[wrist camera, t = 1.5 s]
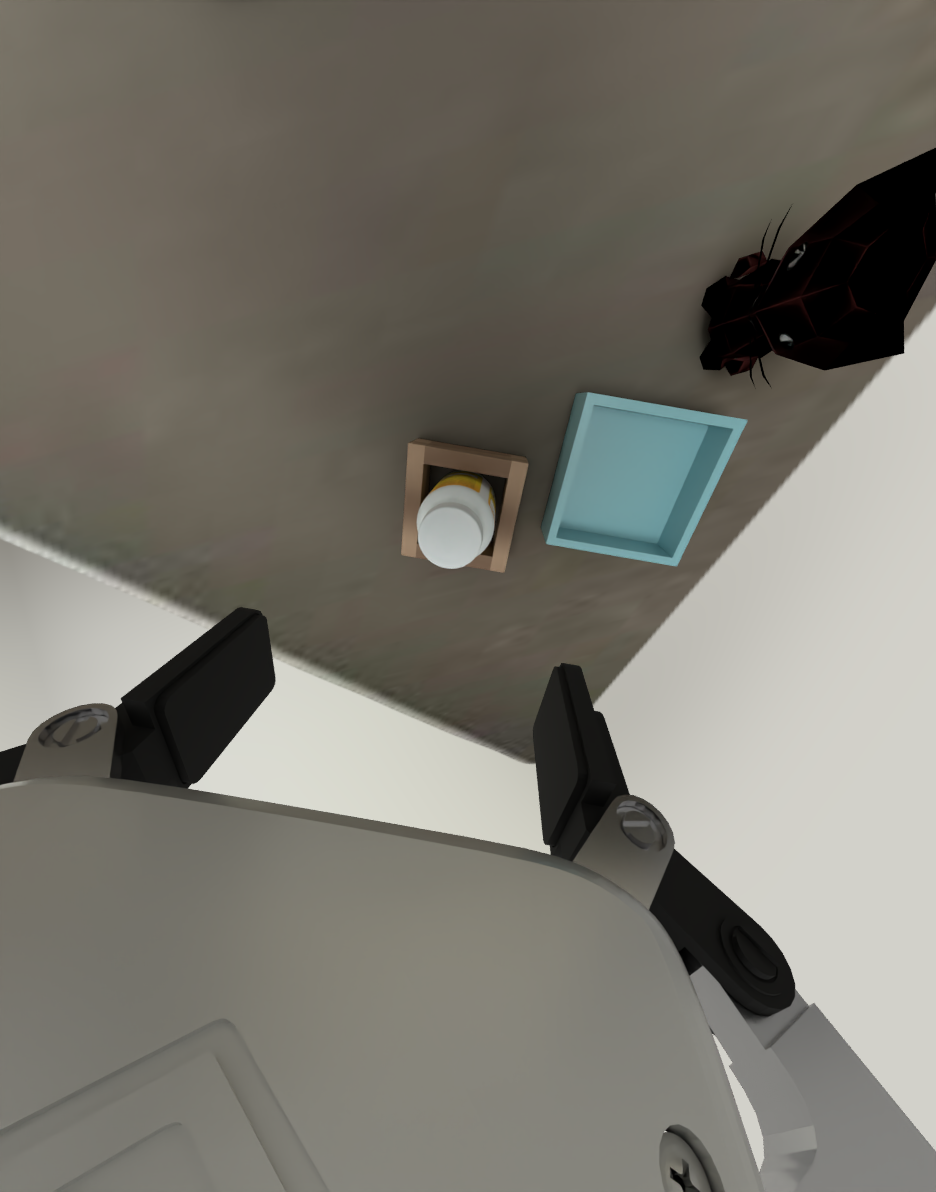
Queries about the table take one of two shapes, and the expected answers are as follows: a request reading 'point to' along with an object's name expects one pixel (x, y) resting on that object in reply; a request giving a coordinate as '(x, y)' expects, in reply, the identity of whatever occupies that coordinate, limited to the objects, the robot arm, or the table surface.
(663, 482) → the tray
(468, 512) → the supplement bottle
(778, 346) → the cat figurine
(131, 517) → the table surface
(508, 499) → the hollow wooden block
